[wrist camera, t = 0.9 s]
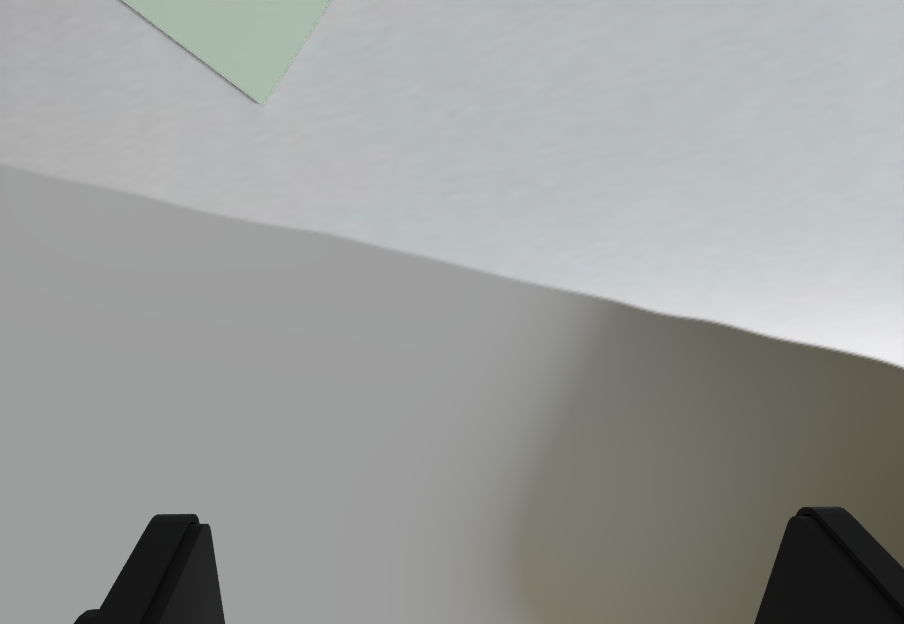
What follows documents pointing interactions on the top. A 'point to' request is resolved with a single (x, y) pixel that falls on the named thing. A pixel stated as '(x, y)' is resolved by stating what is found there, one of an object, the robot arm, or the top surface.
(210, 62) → the set down mat
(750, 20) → the top surface
